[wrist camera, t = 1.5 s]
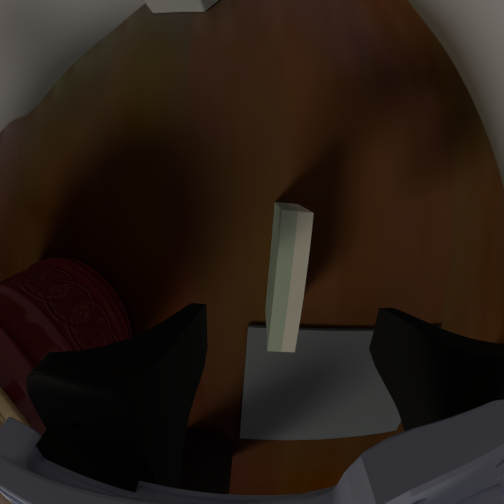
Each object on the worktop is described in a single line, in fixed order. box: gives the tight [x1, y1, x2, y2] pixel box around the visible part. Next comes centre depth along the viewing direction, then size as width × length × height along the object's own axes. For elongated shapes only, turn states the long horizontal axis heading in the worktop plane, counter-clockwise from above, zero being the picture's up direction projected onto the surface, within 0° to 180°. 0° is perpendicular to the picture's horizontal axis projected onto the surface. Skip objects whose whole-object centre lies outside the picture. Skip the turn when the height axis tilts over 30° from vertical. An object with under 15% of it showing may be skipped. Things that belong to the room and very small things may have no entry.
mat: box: [240, 325, 441, 440], centre depth 23 cm, size 18×14×1 cm
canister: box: [0, 257, 133, 436], centre depth 14 cm, size 13×13×18 cm
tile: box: [265, 202, 314, 352], centre depth 18 cm, size 2×8×6 cm, turn 176°
